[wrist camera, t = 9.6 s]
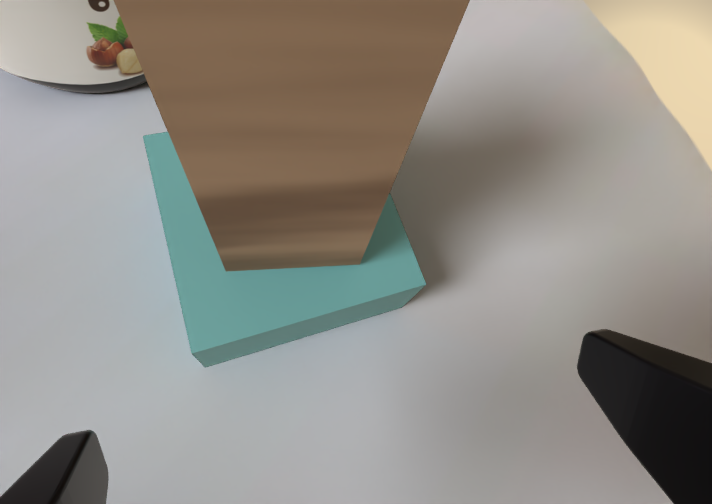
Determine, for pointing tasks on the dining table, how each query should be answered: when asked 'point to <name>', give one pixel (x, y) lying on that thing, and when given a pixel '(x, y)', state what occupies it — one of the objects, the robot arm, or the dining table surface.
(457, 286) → the dining table surface
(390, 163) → the walnut block
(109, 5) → the spread jar
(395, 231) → the teal base block
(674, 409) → the robot arm
